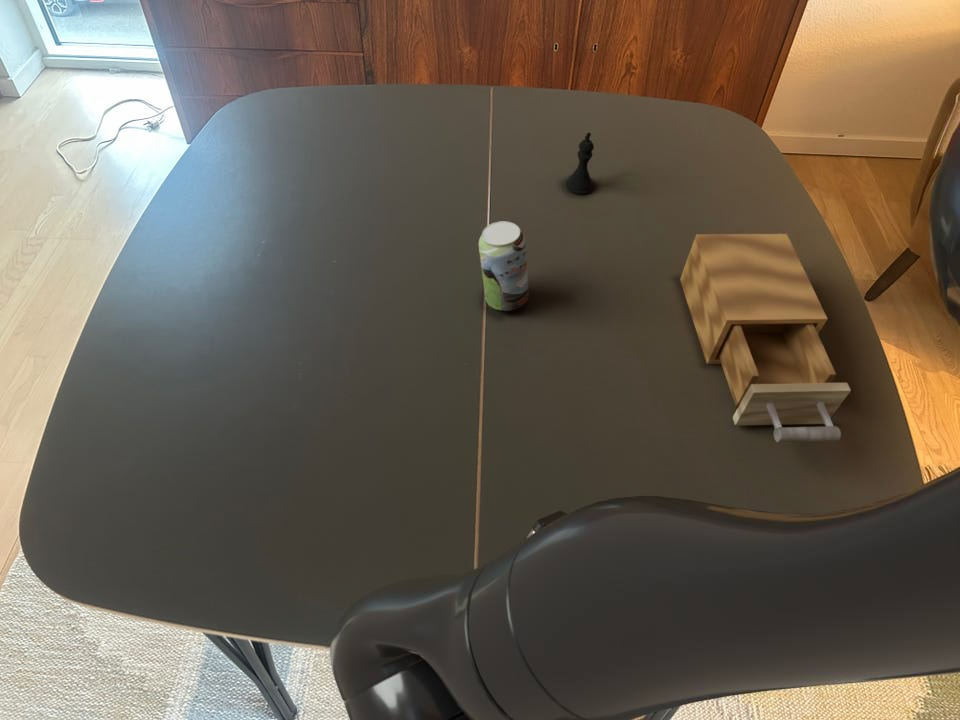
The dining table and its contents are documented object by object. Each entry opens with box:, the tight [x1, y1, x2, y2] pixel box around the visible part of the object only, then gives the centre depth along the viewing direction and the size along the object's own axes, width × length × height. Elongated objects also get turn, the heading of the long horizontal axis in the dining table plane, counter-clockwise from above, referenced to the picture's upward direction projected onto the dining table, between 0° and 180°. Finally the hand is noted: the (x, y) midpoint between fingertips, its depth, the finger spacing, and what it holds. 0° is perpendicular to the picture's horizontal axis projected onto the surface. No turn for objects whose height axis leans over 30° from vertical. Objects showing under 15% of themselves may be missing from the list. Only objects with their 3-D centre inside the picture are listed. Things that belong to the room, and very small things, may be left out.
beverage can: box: [478, 220, 530, 312], centre depth 94 cm, size 6×7×12 cm
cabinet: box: [679, 233, 828, 365], centre depth 95 cm, size 16×13×9 cm
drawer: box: [718, 323, 852, 443], centre depth 86 cm, size 20×11×7 cm, turn 3°
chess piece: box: [565, 131, 595, 196], centre depth 111 cm, size 4×4×10 cm
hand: (634, 570), depth 62 cm, fingers open, 8 cm apart
